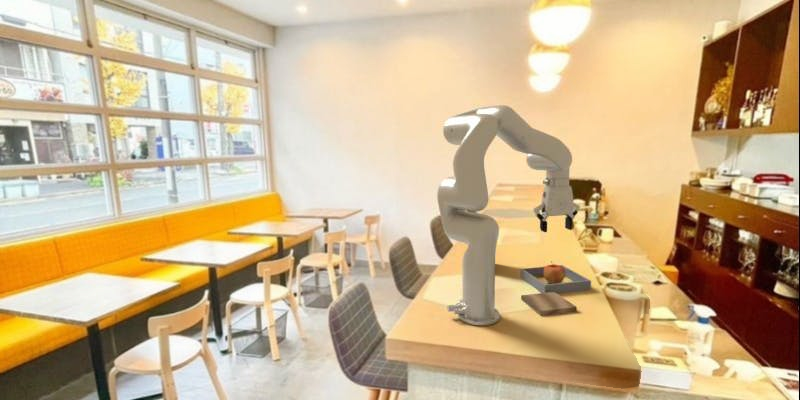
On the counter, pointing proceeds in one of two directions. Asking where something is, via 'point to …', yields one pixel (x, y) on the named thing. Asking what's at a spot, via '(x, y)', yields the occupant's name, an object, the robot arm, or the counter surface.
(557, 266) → the apple
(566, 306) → the board
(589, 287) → the bin
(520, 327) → the counter surface
